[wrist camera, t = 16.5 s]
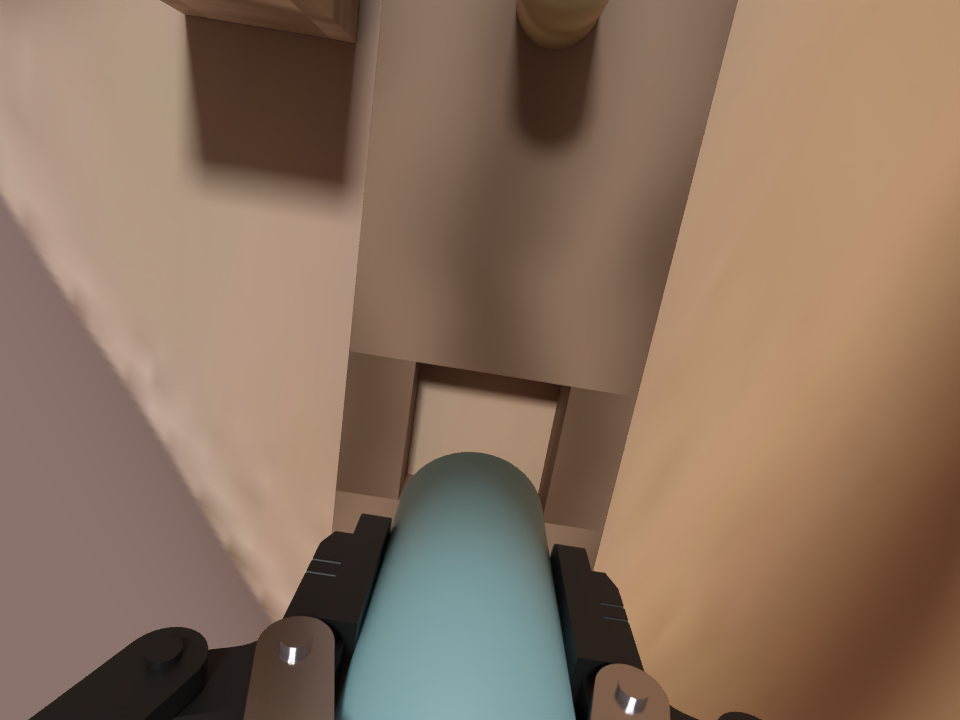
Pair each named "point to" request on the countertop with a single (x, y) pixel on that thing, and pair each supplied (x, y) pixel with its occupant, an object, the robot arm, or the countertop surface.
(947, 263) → the countertop surface
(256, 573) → the countertop surface
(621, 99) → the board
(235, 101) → the countertop surface
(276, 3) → the beige cube block
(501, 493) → the peg
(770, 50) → the countertop surface
